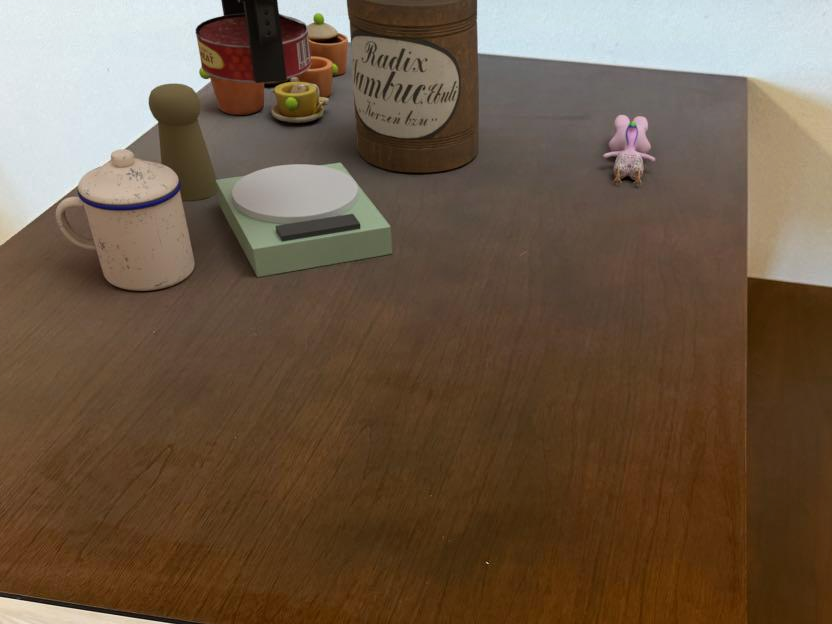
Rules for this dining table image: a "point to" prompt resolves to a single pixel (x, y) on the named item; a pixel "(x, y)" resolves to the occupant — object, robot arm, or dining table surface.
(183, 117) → the pepper mill
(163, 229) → the teacup with lid
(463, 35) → the wooden container
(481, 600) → the dining table surface
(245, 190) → the kitchen scale
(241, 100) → the toy tea set
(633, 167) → the pink plush toy
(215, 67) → the canned food
